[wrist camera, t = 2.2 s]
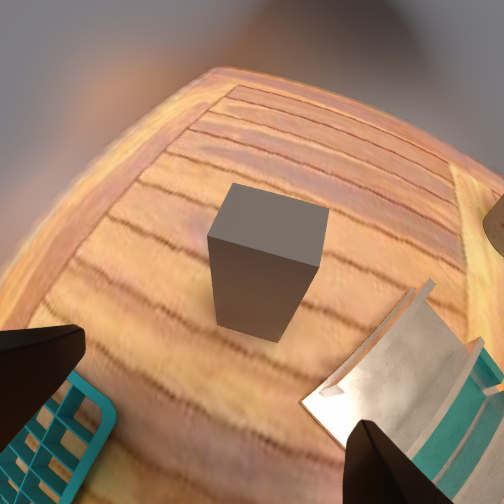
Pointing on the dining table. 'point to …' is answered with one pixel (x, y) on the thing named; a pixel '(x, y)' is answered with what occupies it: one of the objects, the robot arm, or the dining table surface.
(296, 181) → the dining table surface
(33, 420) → the ice cube tray
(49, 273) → the dining table surface
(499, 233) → the thermos bottle
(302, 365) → the dining table surface
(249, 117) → the dining table surface
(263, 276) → the tall gray rectangular box
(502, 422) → the tray
